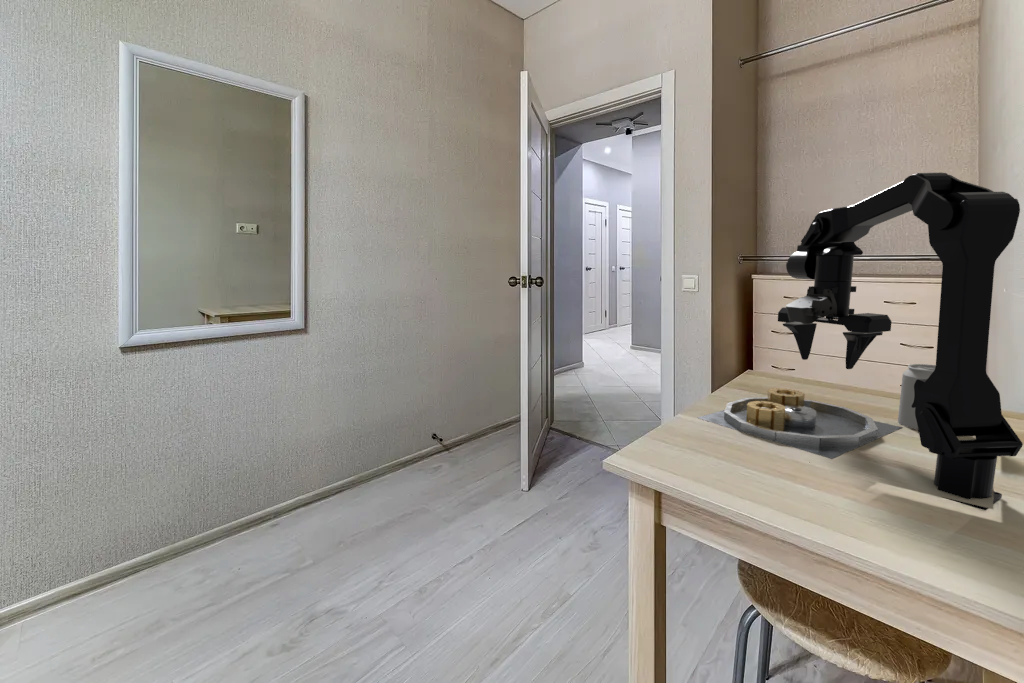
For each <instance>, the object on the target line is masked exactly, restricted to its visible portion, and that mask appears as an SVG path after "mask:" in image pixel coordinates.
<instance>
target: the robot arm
mask: <svg viewBox="0 0 1024 683" xmlns="http://www.w3.org/2000/svg"><path fill="white" fill-rule="evenodd" d="M910 212H912V213H913V214H912V215H913V216H915V217H916V218H917V219H919V220H920V221H922V222H923V223H924V224H926V225H927V228H928V229H927V230H928V232H927V233H928V241H929V245H930V247H931V248H932V250H933V252H934V253H935V254H936V256H937V257H938V258H939V260H940V262H941V264H942V271H941V285H940V299H939V314H938V326H937V328H938V329H937V342H936V356H935V357H936V359H935V365H936V367H935V370H934V372H933V373H932V374H931V375H930V376H929V378H928V379H917V380H916V382H915V384H914V402H913V404H912V406H911V407H912V408H915V417H916V421H917V425H918V436H919V440H920V445H921V447H923V448H926V449H928V452H930V453H932V454H936V462H935V463H936V464H935V469H934V470H935V472H934V479H933V483H934V486H935V487H937V491H939V492H943V493H946V494H950V495H953V496H957V497H959V498H963V499H965V500H972V499H979V500H980V499H989V498H991V497H993V498H992V499H993V500H992V501H993V502H992V505H995V504H996V503H997V502H999V500H1001V499H1002V497H1003V494H1002V493H1000V492H998V491H996V490H995V491H993V489H994V482H995V475H996V469H997V468H996V467H997V462H998V457H1016V456H1017V455H1018V453H1019V452H1020V450H1021V449H1022V447H1023V445H1024V444H1023V442H1022V440H1021V439H1020V437H1019V436H1018V435H1017V434H1016V432H1015V430H1014V429H1013V428H1012V427H1011V425H1010V423H1009V422H1008V420H1006V418H1005V417H1004V415H1003V414H1002V412H1003V411H1002V405H1001V404H1002V402H1001V394H1000V391H999V390H998V389H997V387H996V385H995V384H994V383H993V381H992V380H991V378H990V377H989V375H988V374H987V364H988V353H989V352H988V350H989V338H990V337H989V335H990V328H991V327H990V325H991V313H992V302H993V301H992V300H993V288H994V276H995V265H996V261H997V259H998V258H999V257H1000V256H1001V254H1002V253H1003V252H1004V250H1006V249H1007V247H1008V246H1009V244H1010V243H1011V242H1012V241H1013V239H1014V237H1015V236H1014V235H1015V231H1016V229H1017V224H1018V222H1019V218H1020V214H1021V213H1020V212H1021V206H1020V203H1019V200H1018V199H1017V198H1015V197H1013V195H1011V194H1010V193H1008V192H1006V191H993V190H992V189H989V188H987V187H983V186H980V185H977V184H974V183H971V182H967V181H963V180H960V179H958V178H956V176H953V175H952V174H948V173H946V172H942V171H941V172H917V173H913V174H911V175H908V176H907V177H905V179H904V180H903V181H901V182H898V183H896V184H894V185H892V186H889V187H887V188H886V189H883V190H881V191H879V192H877V193H875V194H873V195H871V196H869V197H868V198H865V199H863V200H861V201H859V202H857V203H855V204H851V205H849V206H842V207H836V208H835V207H834V208H829V209H827V210H822V211H820V212H818V213H817V214H816V215H815V216H814V219H812V222H811V224H810V226H809V227H808V229H807V231H806V232H805V235H804V236H803V237H802V238H801V240H800V242H801V243H800V244H798V245H797V248H796V251H795V252H793V253H792V254H791V255H790V256H789V257H788V259H787V261H786V264H785V269H786V272H787V274H788V275H789V276H790V277H791V278H793V279H796V280H799V279H800V280H810V281H811V280H812V281H814V284H813V286H808V288H807V292H806V295H805V296H803V297H799V298H797V299H795V300H793V301H791V302H789V303H787V304H786V305H785V307H781V308H780V310H779V311H778V312H777V322H779V323H780V322H781V323H782V326H783V327H785V328H786V329H788V330H789V331H791V333H792V335H793V336H794V339H795V341H796V345H797V347H798V351H799V354H800V357H801V359H802V360H803V361H807V360H808V359H809V356H810V354H811V350H812V346H813V342H814V338H815V333H816V329H817V324H818V323H821V324H830V325H831V324H832V325H840V326H844V327H845V329H846V330H847V331H843V332H842V334H843V336H844V338H845V339H846V349H845V350H846V351H845V369H846V370H852V369H854V366H855V365H856V364H857V362H858V361H859V360H860V358H861V356H862V355H863V353H865V351H866V349H867V348H868V347H869V345H871V343H872V342H873V341H874V339H876V337H877V336H878V337H879V336H883V332H891V331H892V319H891V318H890V317H889V315H888V314H882V313H873V312H870V313H869V312H864V313H862V312H861V313H855V308H850V302H851V295H852V294H851V293H857V286H855V285H853V286H852V282H853V269H854V259H855V256H862V255H863V253H864V251H863V250H862V249H861V248H860V247H858V246H857V244H855V242H857V241H859V240H861V239H862V238H864V237H865V236H866V235H868V234H869V232H870V230H871V228H873V227H875V226H877V225H880V224H882V223H884V222H887V221H888V220H892V219H894V218H897V217H899V216H901V215H904V214H906V213H910ZM960 437H975V439H959V438H960ZM942 498H944V499H946V500H950V501H953V502H957V503H959V504H962V505H966V506H969V507H971V508H972V507H973V508H975V509H979V510H984V511H987V510H988V509H989V507H987V506H986V507H985V506H982V505H977V504H973V503H969V502H965V501H962V500H961V501H960V500H956V499H952V498H948V497H944V496H942Z"/></svg>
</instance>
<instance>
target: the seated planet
mask: <svg viewBox="0 0 1024 683" xmlns="http://www.w3.org/2000/svg"><path fill="white" fill-rule="evenodd" d="M785 394H789V395H785ZM805 395H806V394H805V393H803V391H800V390H795V389H792V388H789V389H788V388H780V387H779V388H771V389H768V390H767V396H766V397H767V402H773V403H778V404H781V405H799V406H804V399H805Z"/></svg>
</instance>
